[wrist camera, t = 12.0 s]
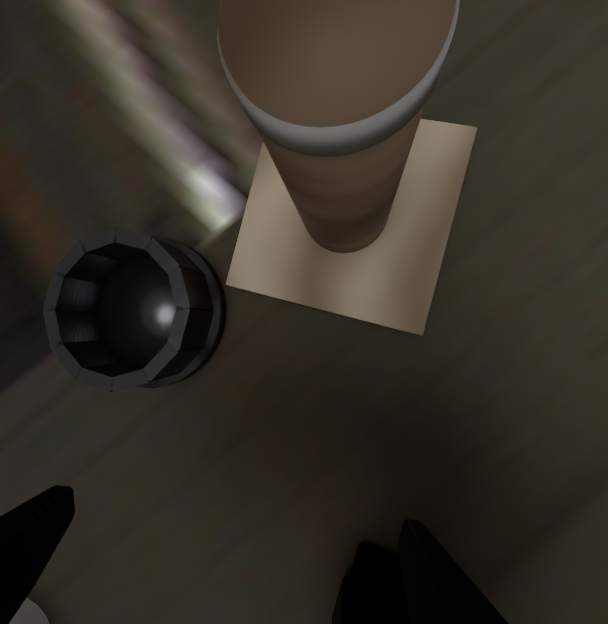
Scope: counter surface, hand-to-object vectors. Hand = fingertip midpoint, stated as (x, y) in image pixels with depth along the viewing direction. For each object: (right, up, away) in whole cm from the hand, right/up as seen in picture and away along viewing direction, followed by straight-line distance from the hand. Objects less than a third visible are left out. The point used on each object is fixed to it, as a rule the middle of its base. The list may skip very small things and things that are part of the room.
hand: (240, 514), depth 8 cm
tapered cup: (+4, +11, +10) cm, 16 cm away
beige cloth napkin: (+4, +11, +11) cm, 17 cm away
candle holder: (-8, +5, +13) cm, 17 cm away
